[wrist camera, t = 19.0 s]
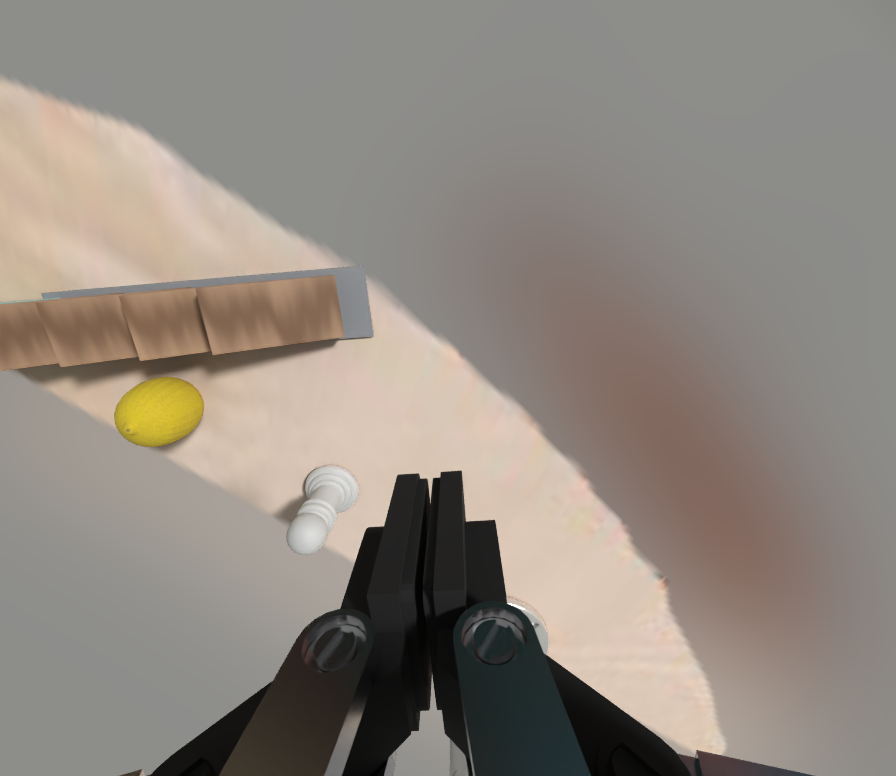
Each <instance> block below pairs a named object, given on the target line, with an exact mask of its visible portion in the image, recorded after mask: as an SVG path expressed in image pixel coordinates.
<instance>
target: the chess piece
mask: <svg viewBox="0 0 896 776" xmlns="http://www.w3.org/2000/svg"><path fill="white" fill-rule="evenodd" d="M305 492H306V495H307V498H308V500H307V501H306V502H305V503H303V505H302V506H301V508H300V510H299V511H298V513H297V516H296V518H295V519H294V520H293V521H292V523H291V524H290V526H289V528H288V531H287V543H288V545H289V547H290V548H291V549H292V550H293V551H294V552H295V553H298V554H300V555H310V554H313V553H315V552H317V551H318V550H319V549H320V548H321V547H322V546H323V545H324V543H325V541H326V539H327V535H328V533H329V532H330V531H331V530H332V528H333V526H334V523H335V521H336V518H337V513H340V512H344V511H346V510H348V509H349V508H350V507H352V506H353V505H354V503H355V502H356V500H357V498H358V494H359V487H358V483H357V481H356V479H355V477H354V476H353V475H352V474H351V473H350V472H349V471H348V470H346V469H344V468H342V467H339V466H335V465H325V466H321V467H319V468H317V469H315V470H314V471H313V472H311V473H310V475H309V476H308V478H307V480H306V484H305Z"/></svg>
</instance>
